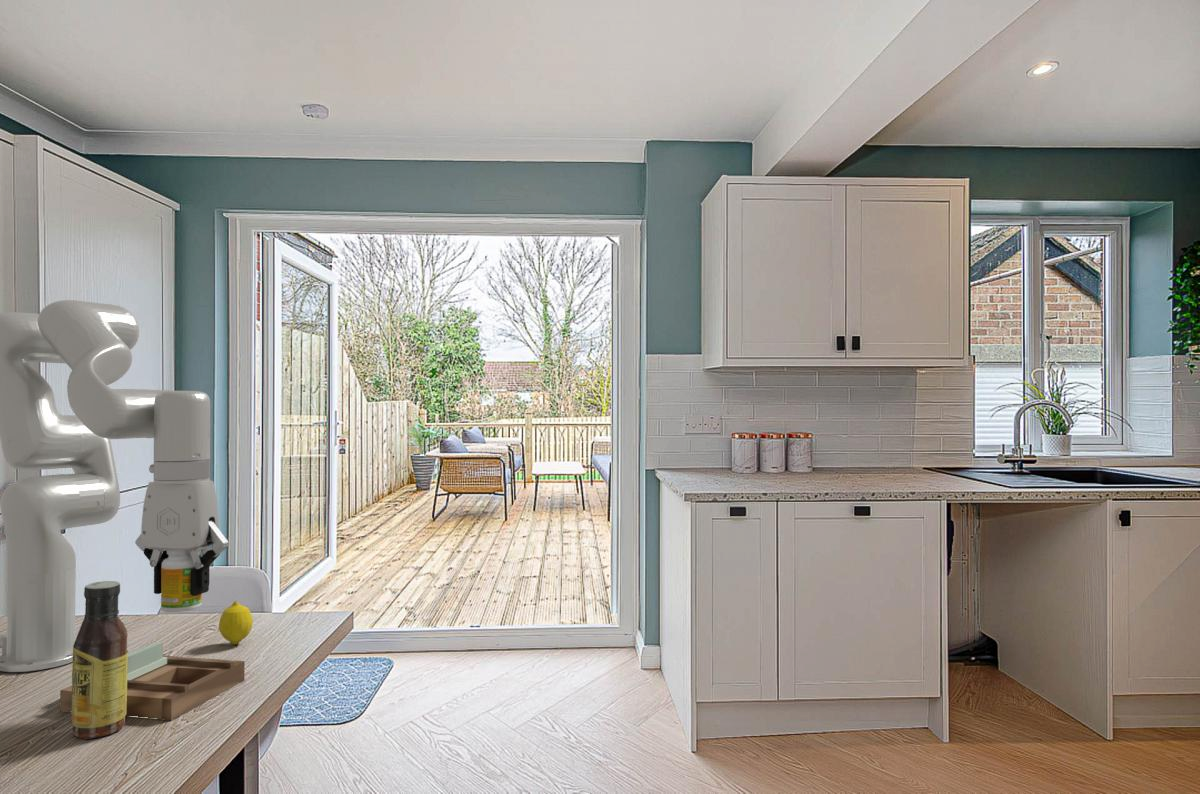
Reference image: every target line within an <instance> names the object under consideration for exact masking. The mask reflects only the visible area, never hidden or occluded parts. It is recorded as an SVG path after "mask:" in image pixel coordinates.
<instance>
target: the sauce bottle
mask: <svg viewBox="0 0 1200 794" xmlns="http://www.w3.org/2000/svg"><path fill="white" fill-rule="evenodd" d="M83 590H84V592H83V597H84V598H85V604H84V605H85V607H84V608H85V611H84V618H83V620H82V623H81V626H80V628H79V630H78V633H77V636H76V637H75V643H74V645H73V662H72V670H71V672H72V673H71V679H72V681H71V683H72V685H71V686H72V712H71V725H72V734H73V736H75V737H76V738H81V739H85V740H90V739H95V738H102V737H105V736H108V735H112V734H115V733H117V732H119V731H120V730H122V729H123V727H124V726H125V723H126V717H125V716H126V707H127V670H128V653H129V651H128V636H129V635H128V630H127V628H126V626H125V624H124V622H123V621H122V620H121V619H120V617H119V616H118V615H119V614H120V613H119V612H120V610H119V596H120V594H121V583H120V582H119V581H114V580H111V581H110V580H103V581H95V582H91V583H88V584H86V585H85V586H84V589H83ZM114 732H115V733H114Z"/></svg>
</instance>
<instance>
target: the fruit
mask: <svg viewBox="0 0 1200 794" xmlns="http://www.w3.org/2000/svg"><path fill="white" fill-rule="evenodd" d="M253 621H254V620H253V616H252V613H251V611H250V609H249V608H248V607H247V606H245V605H242V604H240V603H239V602H238V601H237V600H235V601H234V602H233V603H232V604H231V605H230V606H228V607H227V608H225V609H224V610H223V612H222V614H221V616H220V618H219V622H218V623H219V625H218V628H219V633H220V635H221V636H222V637H223V638H224V640H227V641H228V642H229V643H230V644H231V645H233V646H234V645H238V644H240V642H242V641H243V640H244V639H245V638H246V637H247V636H248V635H250V632H251V631H252V627H253Z"/></svg>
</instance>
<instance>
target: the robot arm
mask: <svg viewBox="0 0 1200 794" xmlns="http://www.w3.org/2000/svg"><path fill="white" fill-rule="evenodd" d="M139 337H140V327H139V324H138V321H137V319H136V317H135V316H134V315H133V314H132V312H130V311H129V310H128V309H127V308H125V307H123V306H120V305H115V304H108V303H101V302H90V301H83V300H74V299H73V300H71V299H66V300H58V301H54V302H51V303H49V304H48V305H46V306H45V307H43V308H42V310H41V311H40V312H39V313H33V312H20V311H19V312H17V311H14V312H13V311H12V312H11V311H10V312H9V311H7V312H0V445H1V450H2V455H3V457H4V460H5V461H6V463H7V465H8V466H10V467H11V468H13V469H16V470H19V471H20V470H21V471H36V470H37V471H39V470H41V471H42V470H56V469H57V470H58V469H68V468H69V469H70V468H71V469H72V470H73V472H74V473H68V474H67V473H66V474H65V473H59V474H48V475H37V476H30V477H24V478H21V479H18V480H15V481H14V482H12V483H10V484H9V485H8V486H7V487H6V488H5V489H4V490H3V492H2V493H1V497H0V513H1V514H0V515H1V518H2V523H3V527H4V532H5V533H4V534H5V540H6V552H7V553H6V557H7V558H6V564H7V565H6V567H7V568H6V573H7V576H6V577H7V578H6V585H7V586H6V587H7V588H6V589H7V590H6V632H2V633H1V634H0V649H1V655H0V672H4V673H5V672H6V673H25V672H35V671H40V670H41V671H42V670H47V669H52V668H57V667H61V666H64V665H67V664H71V663H73V645H74V643H75V640H76V579H77V578H76V574H77V573H76V572H77V569H76V566H77V564H76V561H77V559H76V558H77V557H76V553H75V550H74V548H73V546H72V544H71V543H70V542H69V541H68V540H67V539H66V538H65V536H64V535H63V534H62V530H67V529H72V528H80V527H88V526H93V525H99V524H103V523H106V522H109V521H111V520H112V519H114V517H115V516H116V515H117V514H118V512H119V509H120V505H121V490H120V484H119V480H118V473H117V468H116V464H115V463H116V462H115V459H114V452H113V448H112V447H113V446H112V444H111V443H112V442H111V440H125V439H126V440H127V439H153V464H150V465H149V467H148V471H149V473H151V474H153V481H149V482H148V483H147V488H146V492H145V495H144V496H145V497H144V499H143V500H144V501H143V506H142V517H141V528H140V530H141V531H140V535H138V537H137V538H136V540H135V541H134V542H135V545H136V547H138V549H140V550H141V551H142V552H143V555H144V556H145V557H146V559H148V561H149V566H150V567H151V568H153V593H154V594H155V595H160V594H161V567H162V562H163V561H164V560H165V559H166V558H168V557H169V555H168V554H167V550H190V553H191V556H192V560H193V563H194V566H195V568H193V569H191V580H190V594H191V595H192V596H197V595H199V594H205V593H207V592H209V590H210V589H209V588H210V567H211V566H212V565H214V562H215V560H216V559H217V558H218V557H219V556H220V555H221V554H222V553H223V552H224V551H225V550H226V549H227V548H228V547H229V546H230V543H229V541H228V539H227V538H226V537H225V535H224V534H223V533H222V531H221V530H220V523H219V522H220V521H219V520H220V519H219V507H218V499H217V493H216V487H215V483H214V481H213V480H211V399H210V396H209V395H208V394H207V393H206V392H203V391H199V390H169V389H168V390H167V389H144V388H143V389H139V388H138V389H137V388H135V389H133V388H132V389H131V388H111V387H110V386H109V385H111V384H114V383H115V382H117V381H118V380H120V379H122V377H124V376H125V375H126V374H127V372H128V371H129V370H130V368H131V366H132V362H133V355H132V351H131V350H132V349H133V348H134V347H135V346H136V344H137V342H138V341H139V340H138V339H139ZM30 363H49V364H65V365H67V366H68V367H69V368H70V371H71V372H70V374H69V376H68V380H67V385H66V388H67V389H66V390H67V391H66V392H67V393H66V394H67V399H68V404H69V407H70V408H71V410H72V412H73V413H74V415H73V414H71V415H67V414H66V415H65V414H63V415H62V414H61V413H59V410H58V409H57V406H56V401H55V394H54V391H53V389H52V386H51V385H50V384H49V382H47V379H45V377H43V375H41V374H40V372H38V371H37V370H36V369H35V368H34V367H32V366H31V365H30ZM210 546H212V547H210Z"/></svg>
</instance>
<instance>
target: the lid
mask: <svg viewBox="0 0 1200 794" xmlns="http://www.w3.org/2000/svg"><path fill="white" fill-rule="evenodd" d="M163 656H164V643H163V642H160V641H158V642H153V643H151V644H148V645H146V646H143V647H140V648H139V649H136V650H134V651H131V652H128V670H127V680H132V679H134V678H137V677H139V676H141V675H143V674H145V673H148V672H150V671H152V670H154V669H156V668H159V667H161V666H163V665H165V664H167V657H163Z"/></svg>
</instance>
